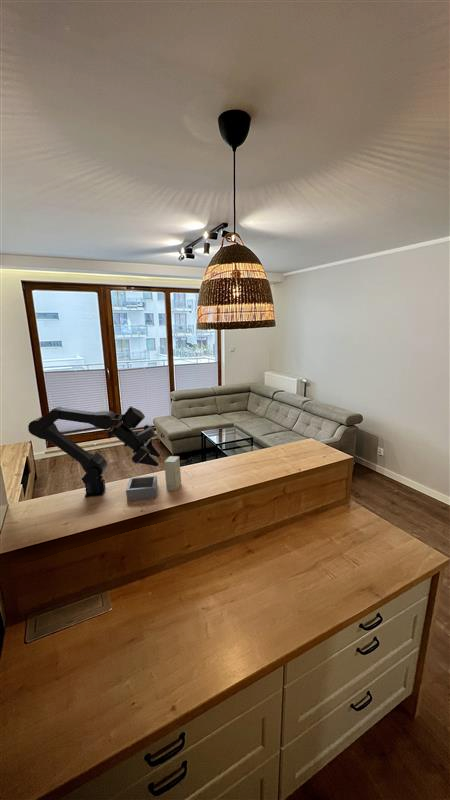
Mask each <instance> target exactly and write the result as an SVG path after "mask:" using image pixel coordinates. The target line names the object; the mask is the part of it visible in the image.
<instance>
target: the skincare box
mask: <svg viewBox="0 0 450 800" xmlns="http://www.w3.org/2000/svg"><path fill="white" fill-rule="evenodd" d="M180 461H181V460H180V456H175V455H170V456H168V457H166V459H165V460H164V464H163V465H164V473H165V485H166V487H165V489H166V490H167V491H178V489H179V488H180V486H181V485H182V475H181V462H180Z"/></svg>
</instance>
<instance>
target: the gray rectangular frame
mask: <svg viewBox="0 0 450 800" xmlns="http://www.w3.org/2000/svg"><path fill="white" fill-rule="evenodd" d="M157 490H158V476H157V475H148V476H137V477H136V476H135V477H130V478H129V480H128V483H127V486H126V489H125V493H126V494H125V495H126V502H133V501H134V502H135V501H143V500H144V501H146V500H154V499H156V498H157V497H156V496H157V492H158V491H157Z"/></svg>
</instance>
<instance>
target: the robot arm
mask: <svg viewBox="0 0 450 800" xmlns="http://www.w3.org/2000/svg"><path fill="white" fill-rule="evenodd" d="M144 419H145V414H144V413H143V412H142V411H141V410H139V409H137V408H135V407H133V406H132V405H131V406H129V407H128V408H127V410H126V412H124V414H121V413H115V412H113V411H111V410H110V411H109V410H103V411H87V410H80V409H73V408H66V407H61V406H57V407H54V408H52V409H51V410H50V411H48V413H46V414H45V415H43V416H40V417H38V418H36V419H34V420H32V421H30V422H29V423H28V426H27V428H28V430H27V431H28V432H29V434H30V435H32V436H34V437H36V438H38V439H41V440H45V441H49V442H50V443H51V444H52V445H54V446H56V447H58V448H59V449H60V451H62V452H64V453H65V454H66V455H68V456H69V457H71V458H72V459H74V460H75V461H77V462H78V463H79V465H81V468H82V469H83V471H84V472H85V474H84V475H83V476H82V477H81V481H82V482H83V483H82V484H84V487H85V488H86V489H85V495H84V497H85V498H88V497H90V498H91V497H99V496H100V497H101V496H103V494H104V493H105V491H106V482H105V481H106V480H105V479H104V476H103V474H104V472H105V471H106V469H108V468H107V467H108V461H107V460H106V459H105V458H106V457H105V456H102V455H101V454H100V453H99V452H97V451H96V452H94V454H93V453H89V452H88V451H87V450H85V449H84V448H82V447H81V446H79V445H78V444H77V443H76V442H75V441H73V440H72V439H70V437H67V436H66V435H65V434H63V433H62V432H61V431H60V430H59V429H58V427H57V425H56V423H55V422H56V421H58V420H61V421H62V420H63V421H69V422H76V423H82V424H83V423H84V424H88V425H91V426H93V427H95V428H98V429H102V430H103V431H104V430H106V431H107V439H110V438H111V437H112V436H113V437H115V438H116V439H118V440H119V441H121V442H122V444H123V446H124V447H125V448H126V447H128V448H129V449H131V450H132V453H133V454H132V455H131V456H132V457H131V462H133V463H134V464H135V465H137V464H143V465H148V466H154V467H158V466H159V465H160V464H159V462H158V461H157V460H156V459H155V458H154V457H156V458H160V457H161V454H160V453H159V451H158V449H156V447H155V446H154V444H153V437H155V435H156V431H155V429H154V427H153V426H151V425H149V424H146V425H143V429H142V430H141V431H140V432H139V431H137V430H135V431H134V430H132V429H136V428H137V427H138V425H139V424H140V423H141V422H142V421H143V420H144ZM120 422H121V423H120ZM119 423H120V424H119ZM112 427H113V428H112Z"/></svg>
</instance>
